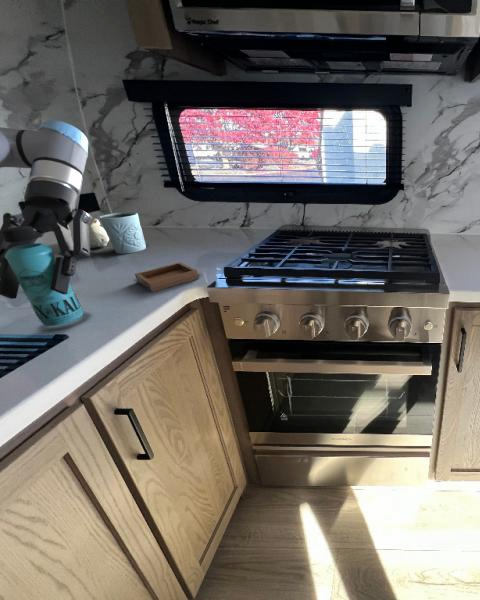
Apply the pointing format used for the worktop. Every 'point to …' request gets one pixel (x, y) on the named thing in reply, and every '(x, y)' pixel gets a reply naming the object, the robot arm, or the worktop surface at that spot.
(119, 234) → the light blue embossed planter
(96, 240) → the cream animal figurine
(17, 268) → the beverage bottle
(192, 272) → the brown wooden shallow tray
